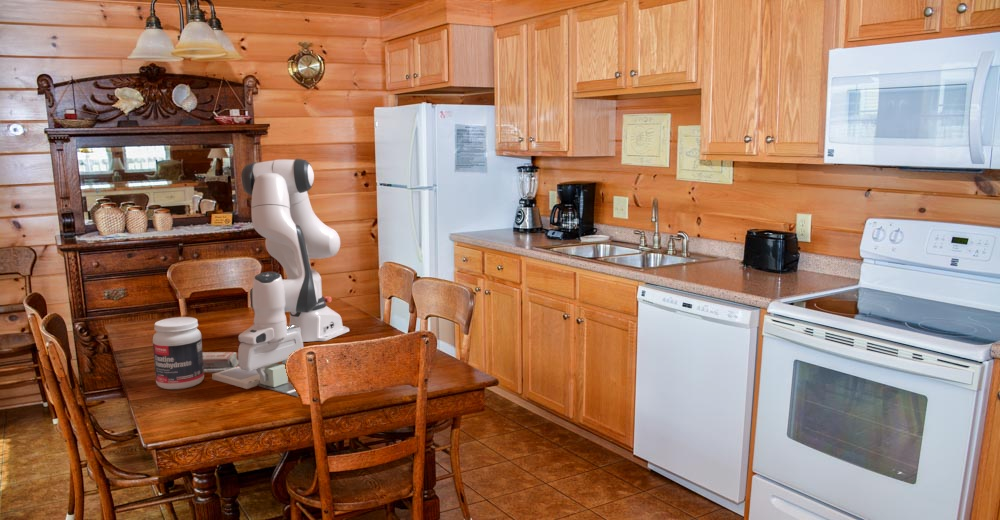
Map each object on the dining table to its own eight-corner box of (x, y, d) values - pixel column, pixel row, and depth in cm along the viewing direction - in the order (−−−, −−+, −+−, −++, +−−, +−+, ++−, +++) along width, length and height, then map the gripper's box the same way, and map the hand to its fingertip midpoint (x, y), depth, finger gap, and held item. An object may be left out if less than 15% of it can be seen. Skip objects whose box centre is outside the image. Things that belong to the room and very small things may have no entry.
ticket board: (249, 367, 233) (249, 362, 233) (323, 387, 214) (323, 381, 214) (212, 379, 223) (211, 373, 222) (287, 400, 204) (286, 394, 204)
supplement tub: (153, 393, 211) (147, 328, 208) (159, 379, 223) (154, 318, 220) (202, 388, 214) (198, 324, 211) (206, 375, 227) (202, 314, 224)
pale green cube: (274, 378, 220) (273, 361, 219) (288, 382, 217) (287, 365, 216) (260, 383, 216) (258, 366, 215) (273, 387, 213) (272, 369, 212)
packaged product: (239, 348, 238) (229, 358, 229) (240, 363, 239) (230, 373, 229) (181, 349, 238) (168, 359, 228) (183, 364, 239) (170, 374, 229)
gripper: (292, 321, 224) (295, 366, 227) (233, 336, 208) (236, 385, 210) (307, 324, 221) (309, 370, 223) (247, 340, 204) (251, 389, 206)
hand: (273, 377), depth 216 cm, fingers closed on pale green cube, 5 cm apart
